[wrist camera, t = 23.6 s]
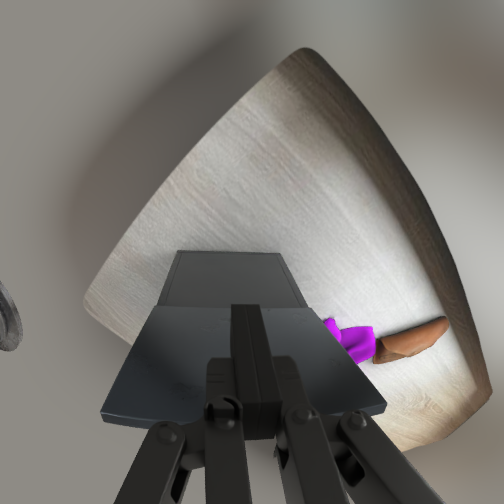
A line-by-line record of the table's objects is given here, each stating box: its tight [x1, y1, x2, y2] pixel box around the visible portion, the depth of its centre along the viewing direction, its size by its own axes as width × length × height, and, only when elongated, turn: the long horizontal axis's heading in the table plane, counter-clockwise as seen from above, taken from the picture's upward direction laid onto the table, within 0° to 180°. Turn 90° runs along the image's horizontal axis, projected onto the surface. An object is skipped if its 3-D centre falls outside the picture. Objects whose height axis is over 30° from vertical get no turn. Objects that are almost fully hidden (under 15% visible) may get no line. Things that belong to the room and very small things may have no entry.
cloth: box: [324, 318, 376, 364], centre depth 47 cm, size 22×19×6 cm
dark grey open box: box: [156, 251, 309, 308], centre depth 35 cm, size 14×15×15 cm
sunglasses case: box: [373, 316, 449, 364], centre depth 49 cm, size 18×7×7 cm
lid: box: [100, 306, 387, 429], centre depth 18 cm, size 14×15×1 cm
